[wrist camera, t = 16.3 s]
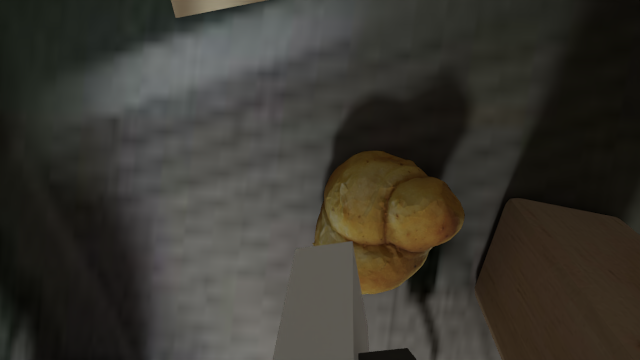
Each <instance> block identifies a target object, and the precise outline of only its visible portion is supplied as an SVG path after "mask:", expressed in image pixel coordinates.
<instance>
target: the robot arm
mask: <svg viewBox="0 0 640 360" xmlns="http://www.w3.org/2000/svg"><path fill="white" fill-rule="evenodd" d="M273 360H416V358H415V357H414V356H413V355H412V353H411V352H410V351H409V350H408V348H404V349H394V350H384V351H375V352H369V343H368V326H367V320H366V315H365V309H364V303H363V298H362V292H361V287H360V281H359V275H358V270H357V264H356V259H355V253H354V247H353V242H352V241H350V242H342V243H335V244H327V245H320V246H312V247H305V248H297V249H296V251H295V255H294V260H293V265H292V270H291V275H290V279H289V284H288V289H287V294H286V298H285V303H284V308H283V313H282V318H281V322H280V327H279V332H278V337H277V341H276V346H275V351H274V356H273Z"/></svg>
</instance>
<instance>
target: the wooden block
mask: <svg viewBox="0 0 640 360" xmlns="http://www.w3.org/2000/svg"><path fill="white" fill-rule="evenodd" d="M475 295H476V298H477V300H478V303H479V305H480V308H481V310H482V312H483V315H484V317H485V320H486V322H487V325H488V327H489V329H490V332H491V334H492V337H493V339H494V342H495V344H496V347H497V349H498V351H499V354H500V356H501V359H502V360H640V235H639V234H637V233H636V232H635V231H634V230H633V229H632V228H630V227H629V226H628V225H627V224H626V223H624V222H623V221H622V220H620V219H619V218H617V217H613V216H608V215H603V214H598V213H593V212H588V211H582V210H577V209H572V208H567V207H562V206H557V205H552V204H547V203H542V202H537V201H532V200H527V199H522V198H512V199H509V200H508V202H507V203H506V204H505V207H504V209H503V212H502V215H501V218H500V220H499V223H498V226H497V228H496V231H495V234H494V237H493V239H492V242H491V245H490V247H489V250H488V253H487V256H486V258H485V261H484V264H483V266H482V269H481V272H480V275H479V277H478V280H477V283H476V286H475Z"/></svg>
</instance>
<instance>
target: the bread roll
mask: <svg viewBox="0 0 640 360" xmlns="http://www.w3.org/2000/svg"><path fill="white" fill-rule="evenodd" d="M464 216H465V214H464V210H463V208H462V206H461V203H460V201H459V200H458V199H457V197H456V196H455V195H454V194H453V193H452V191H451V190H450V188H449V187H448V185H447V184H446V183H445V182H443V181H441V180H440V179H437V178H434V177H428V176H427V175H426V174H425V173H424V171H422V170H421V169H420V168H419V167H417V166H416V164H415V163H414V162H413V161H411V160H405V159H402V158H400V157H396V156H393V155H390V154H389V153H385V152H384V151H365V152H360V153H358V154H355V155H353V156H352V157H351V158H349V159H348V160H346V161H345V162H344V163H342V164H341V165H339V166H338V167H337V168H336V169H335V170H334V172H333V173H332V175H331V176H330V178H329V180H328V182H327V184H326V186H325V190H324V201H323V204H322V207H321V212H320V215H319V217H318V220H317V225H316V232H315V243H313V245H314V246H320V245H327V244H335V243H342V242H350V241H352V242H353V247H354V253H355V259H356V264H357V270H358V275H359V281H360V287H361V292H362V294H367V293H368V294H376V293H380V292H384V291H388V290H391V289H394V288H396V287H398V286H399V285H401V284H402V283H403V282H404V281H405V280H407V279H408V278H409V277H411V276H412V275H413V274H414V273H415V272H416V271H417V270H418V269H419V268H420V267H421V266H422V265H423V264H424V262H425V260H426V258H427V255H428V252H429V250H431V249H432V247H434V246H437V245H439V244H442V243H444V242H447V241H448V240H450V239H451V238H452V237H453V236H455V235H456V234H457V233H458V232H459V230H460V229H461V227H462V225H463V221H464Z"/></svg>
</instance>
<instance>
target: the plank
mask: <svg viewBox="0 0 640 360" xmlns="http://www.w3.org/2000/svg"><path fill="white" fill-rule="evenodd" d="M260 1H265V0H171V2H172V5H173V9H174V13H175V16H176V18H178V17H184V16H189V15H194V14H199V13H204V12H209V11H214V10H219V9H225V8H230V7H235V6H240V5H245V4H250V3H255V2H260Z"/></svg>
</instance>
